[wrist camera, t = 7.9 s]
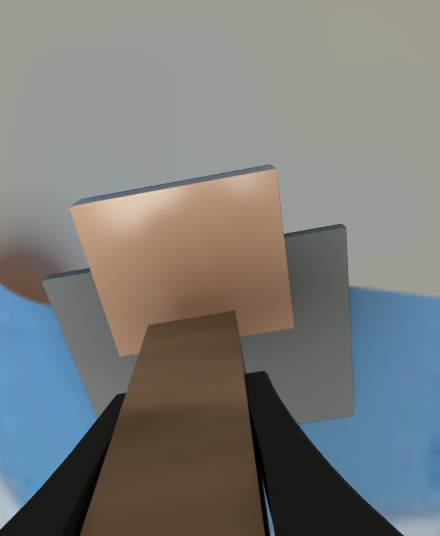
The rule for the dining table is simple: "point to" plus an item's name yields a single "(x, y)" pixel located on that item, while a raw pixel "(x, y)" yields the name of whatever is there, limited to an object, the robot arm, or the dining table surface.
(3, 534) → the robot arm
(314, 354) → the mat
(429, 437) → the dining table surface
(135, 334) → the tile
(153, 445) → the peg
